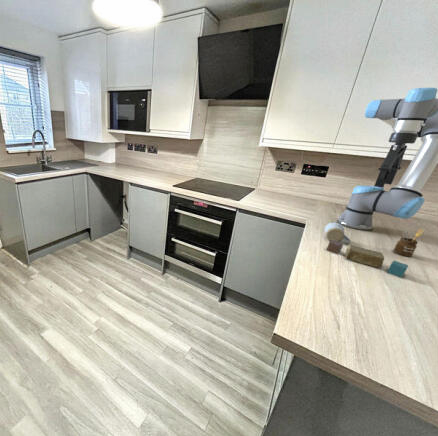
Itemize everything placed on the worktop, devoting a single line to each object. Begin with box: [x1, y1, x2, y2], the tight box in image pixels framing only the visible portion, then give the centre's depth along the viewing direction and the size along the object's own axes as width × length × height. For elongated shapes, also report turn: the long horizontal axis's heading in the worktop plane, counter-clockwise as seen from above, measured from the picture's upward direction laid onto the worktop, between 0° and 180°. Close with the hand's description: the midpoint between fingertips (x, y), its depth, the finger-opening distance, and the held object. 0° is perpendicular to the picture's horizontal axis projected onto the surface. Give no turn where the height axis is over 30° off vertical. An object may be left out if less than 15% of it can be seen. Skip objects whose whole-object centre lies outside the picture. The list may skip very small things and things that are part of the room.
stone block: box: [345, 244, 385, 269], centre depth 95 cm, size 6×12×5 cm, turn 53°
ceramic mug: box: [324, 221, 352, 244], centre depth 113 cm, size 11×8×8 cm
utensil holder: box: [393, 228, 425, 257], centre depth 102 cm, size 6×6×12 cm
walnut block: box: [326, 240, 344, 254], centre depth 103 cm, size 4×4×4 cm
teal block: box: [386, 260, 410, 278], centre depth 88 cm, size 4×4×4 cm
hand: (382, 185), depth 100 cm, fingers open, 13 cm apart
